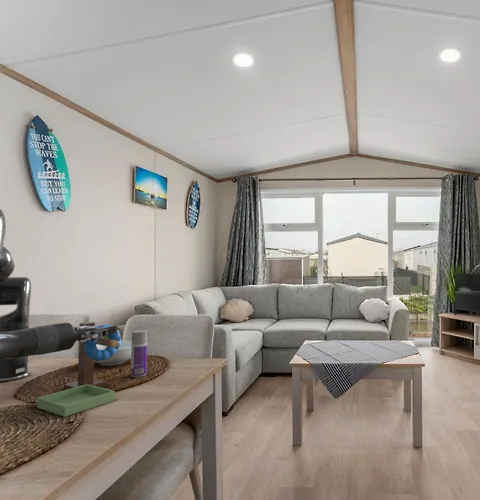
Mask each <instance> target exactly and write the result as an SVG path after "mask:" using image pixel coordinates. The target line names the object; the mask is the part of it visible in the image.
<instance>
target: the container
mask: <svg viewBox="0 0 480 500" xmlns="http://www.w3.org/2000/svg"><path fill="white" fill-rule="evenodd" d="M131 341H132V348H131V359H130V377H131V378H141V377H144V376H146V375H147V363H148V362H147V360H148V359H147V357H148V330H146V329H140V330H139V329H137V330H133V331H131Z"/></svg>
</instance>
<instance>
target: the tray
mask: <svg viewBox="0 0 480 500" xmlns="http://www.w3.org/2000/svg"><path fill="white" fill-rule="evenodd" d="M115 394H116V393H115V390H111V389H108V388H104V387H101V388H100V387H96V386H92V385H89V384H86V385H82V386H78V387H75V388H71V389H67V390H65V389H63V390H60V391H57V392H53V393H50V394H46V395H42V396H38V397H36V408H37V409H40V410H43V411H46V412H49V413H52V414H55V415H59V416H61V417H64V418H65V417H69V416H71V415H74V414H75V415H76V414H78V413H80V412H84V411H87V410H89V409H93V408H95V407H98V406H102V405H105V404H108V403H111V402H114V401H115V397H116V396H115Z"/></svg>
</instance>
